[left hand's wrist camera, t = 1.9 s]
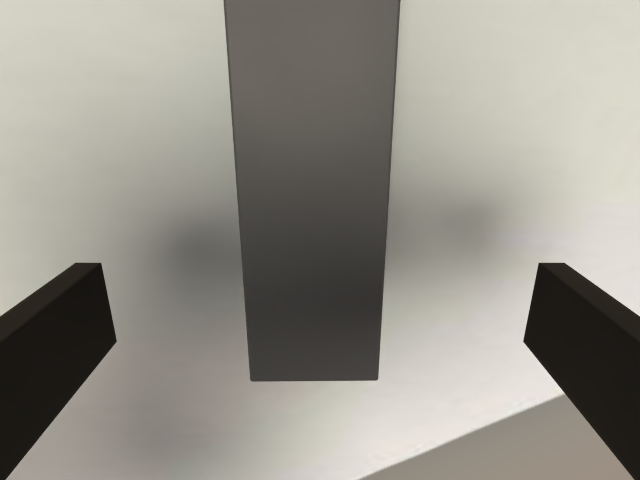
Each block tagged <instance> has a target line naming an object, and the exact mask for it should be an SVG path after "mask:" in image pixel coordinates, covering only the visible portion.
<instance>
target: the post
mask: <svg viewBox="0 0 640 480" xmlns="http://www.w3.org/2000/svg"><path fill="white" fill-rule="evenodd" d="M224 13H225V27H226V41H227V55H228V69H229V84H230V98H231V112H232V126H233V141H234V155H235V169H236V183H237V198H238V212H239V226H240V240H241V254H242V269H243V283H244V297H245V311H246V326H247V340H248V354H249V368H250V380H251V381H367V380H378V371H379V354H380V337H381V320H382V303H383V286H384V269H385V252H386V235H387V218H388V201H389V184H390V167H391V150H392V133H393V116H394V99H395V82H396V65H397V48H398V31H399V14H400V0H224Z"/></svg>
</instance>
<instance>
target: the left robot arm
mask: <svg viewBox="0 0 640 480" xmlns="http://www.w3.org/2000/svg"><path fill="white" fill-rule="evenodd" d="M116 342H117V341H116V335H115V330H114V325H113V320H112V315H111V310H110V305H109V300H108V295H107V290H106V285H105V280H104V275H103V270H102V265H101V263H75V264H73V265H72V266H71V267H69V268H68V269H66V270H65V271H64V272H62V273H61V274H59V275H58V276H56V277H55V278H54V279H52V280H51V281H49V282H48V283H47V284H45V285H44V286H42V287H41V288H40V289H38V290H37V291H35V292H34V293H33V294H31V295H30V296H28V297H27V298H26V299H24V300H23V301H21V302H20V303H19V304H17V305H16V306H14V307H13V308H12V309H10V310H9V311H7V312H6V313H5V314H3V315H2V316H0V480H6V478H7V477H8V476H9V475H10V473H11V472H12V471H13V470H14V468H15V467H16V466H17V465H18V463H19V462H20V461H21V460H22V459H23V457H24V456H25V455H26V454H27V452H28V451H29V450H30V449H31V447H32V446H33V445H34V444H35V442H36V441H37V440H38V439H39V437H40V436H41V435H42V434H43V432H44V431H45V430H46V429H47V427H48V426H49V425H50V424H51V422H52V421H53V420H54V419H55V418H56V416H57V415H58V414H59V413H60V411H61V410H62V409H63V408H64V406H65V405H66V404H67V403H68V401H69V400H70V399H71V398H72V396H73V395H74V394H75V393H76V391H77V390H78V389H79V388H80V386H81V385H82V384H83V383H84V381H85V380H86V379H87V378H88V377H89V375H90V374H91V373H92V372H93V370H94V369H95V368H96V367H97V365H98V364H99V363H100V362H101V360H102V359H103V358H104V357H105V355H106V354H107V353H108V352H109V350H110V349H111V348H112V347H113V345H114V344H115V343H116ZM523 342H524V343H525V344H526V345H527V347H528V348H529V349H530V350H531V352H532V353H533V354H534V355H535V357H536V358H537V359H538V360H539V362H540V363H541V364H542V365H543V367H544V368H545V369H546V370H547V372H548V373H549V374H550V375H551V377H552V378H553V379H554V380H555V381H556V383H557V384H558V385H559V386H560V388H561V389H562V390H563V391H564V393H565V394H566V395H567V396H568V398H569V399H570V400H571V401H572V403H573V404H574V405H575V406H576V408H577V409H578V410H579V411H580V413H581V414H582V415H583V416H584V417H585V419H586V420H587V421H588V422H589V424H590V425H591V426H592V427H593V429H594V430H595V431H596V432H597V434H598V435H599V436H600V437H601V439H602V440H603V441H604V442H605V444H606V445H607V446H608V447H609V448H610V450H611V451H612V452H613V453H614V455H615V456H616V457H617V459H618V460H619V461H620V462H621V463H622V465H623V466H624V467H625V468H626V470H627V471H628V472H629V473H630V475H631V476H632V477H633V478H634V480H640V316H638V315H637V314H635V313H634V312H633V311H631V310H630V309H628V308H627V307H626V306H624V305H623V304H621V303H620V302H619V301H617V300H616V299H614V298H613V297H612V296H610V295H609V294H607V293H606V292H605V291H603V290H602V289H600V288H599V287H598V286H596V285H595V284H593V283H592V282H591V281H589V280H588V279H586V278H585V277H584V276H582V275H581V274H579V273H578V272H576V271H575V270H574V269H572V268H571V267H569V266H568V265H567V264H565V263H539V265H538V270H537V275H536V280H535V285H534V290H533V295H532V300H531V305H530V310H529V315H528V320H527V325H526V330H525V335H524V341H523Z"/></svg>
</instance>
